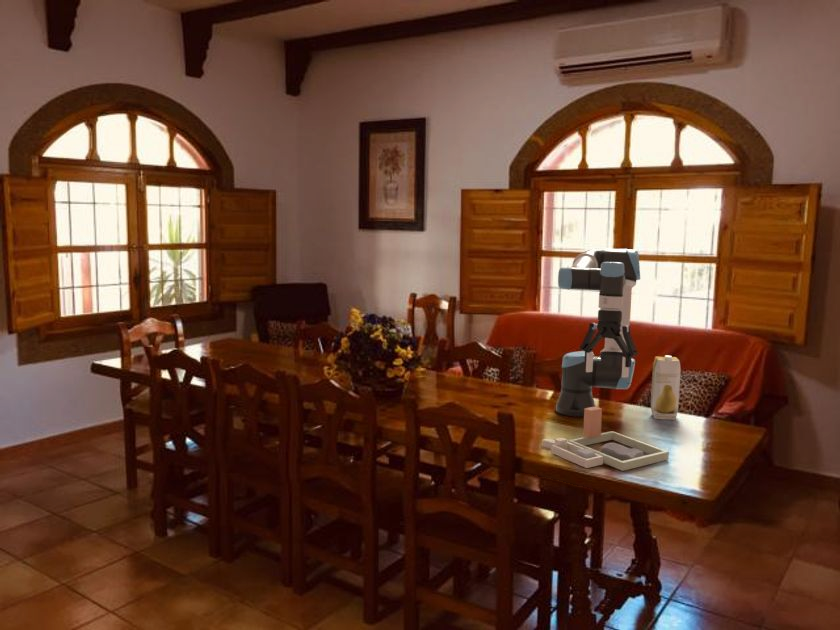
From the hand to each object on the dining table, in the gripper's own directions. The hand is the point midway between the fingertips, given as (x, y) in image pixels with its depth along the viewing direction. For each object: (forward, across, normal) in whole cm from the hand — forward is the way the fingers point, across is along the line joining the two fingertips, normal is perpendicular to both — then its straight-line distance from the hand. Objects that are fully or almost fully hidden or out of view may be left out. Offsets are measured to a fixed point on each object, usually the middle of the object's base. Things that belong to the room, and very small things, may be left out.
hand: (606, 374), depth 235 cm
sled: (+26, 0, -15) cm, 30 cm away
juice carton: (+20, -5, +48) cm, 52 cm away
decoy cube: (+26, +4, -15) cm, 31 cm away
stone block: (+26, +9, -2) cm, 27 cm away
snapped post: (+25, -12, -12) cm, 30 cm away
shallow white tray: (+25, +6, -1) cm, 26 cm away
